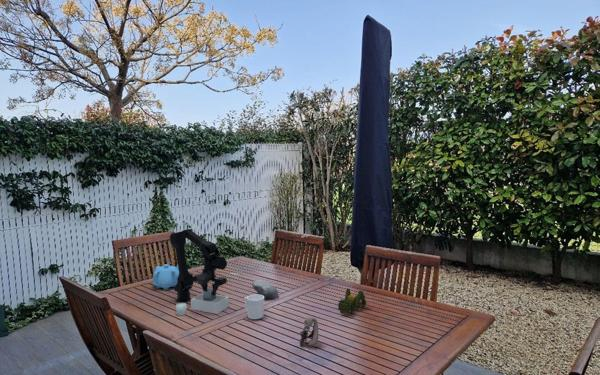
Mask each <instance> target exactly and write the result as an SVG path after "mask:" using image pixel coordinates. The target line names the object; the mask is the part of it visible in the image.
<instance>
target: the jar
mask: <svg viewBox="0 0 600 375" xmlns="http://www.w3.org/2000/svg"><path fill="white" fill-rule="evenodd" d="M175 308H176V309H175V311H176V312H175V313H176V316H178V317H180V316H181V317H182V316H185V315H186V314H187V303H186V302H185V303H182V302H178V303H176V305H175Z"/></svg>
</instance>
